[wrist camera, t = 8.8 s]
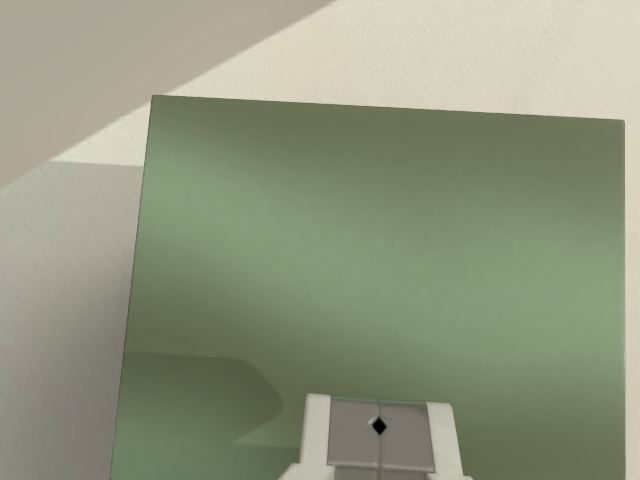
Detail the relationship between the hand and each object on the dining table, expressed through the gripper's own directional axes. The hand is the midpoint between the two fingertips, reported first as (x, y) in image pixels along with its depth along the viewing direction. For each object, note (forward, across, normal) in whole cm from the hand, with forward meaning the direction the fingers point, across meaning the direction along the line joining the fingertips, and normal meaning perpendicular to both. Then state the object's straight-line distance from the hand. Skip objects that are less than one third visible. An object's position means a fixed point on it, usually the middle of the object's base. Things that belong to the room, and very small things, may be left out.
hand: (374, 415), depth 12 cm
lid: (+3, 0, +3) cm, 4 cm away
